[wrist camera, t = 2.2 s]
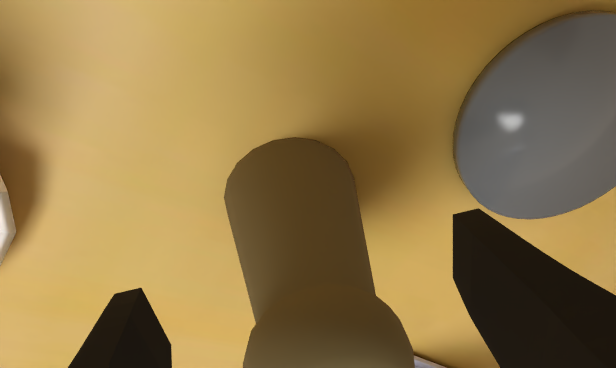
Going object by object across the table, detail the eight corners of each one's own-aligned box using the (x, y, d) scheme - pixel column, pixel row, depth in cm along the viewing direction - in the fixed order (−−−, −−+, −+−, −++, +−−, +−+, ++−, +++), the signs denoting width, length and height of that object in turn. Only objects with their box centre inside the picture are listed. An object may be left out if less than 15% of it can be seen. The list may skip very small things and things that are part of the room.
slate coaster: (702, 88, 23) (717, 95, 22) (541, 236, 27) (549, 246, 26) (579, -42, 19) (592, -38, 18) (408, 156, 23) (414, 165, 22)
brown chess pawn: (381, 182, 23) (487, 391, 14) (298, 263, 25) (345, 493, 16) (280, 111, 20) (333, 315, 11) (197, 210, 22) (185, 449, 13)
